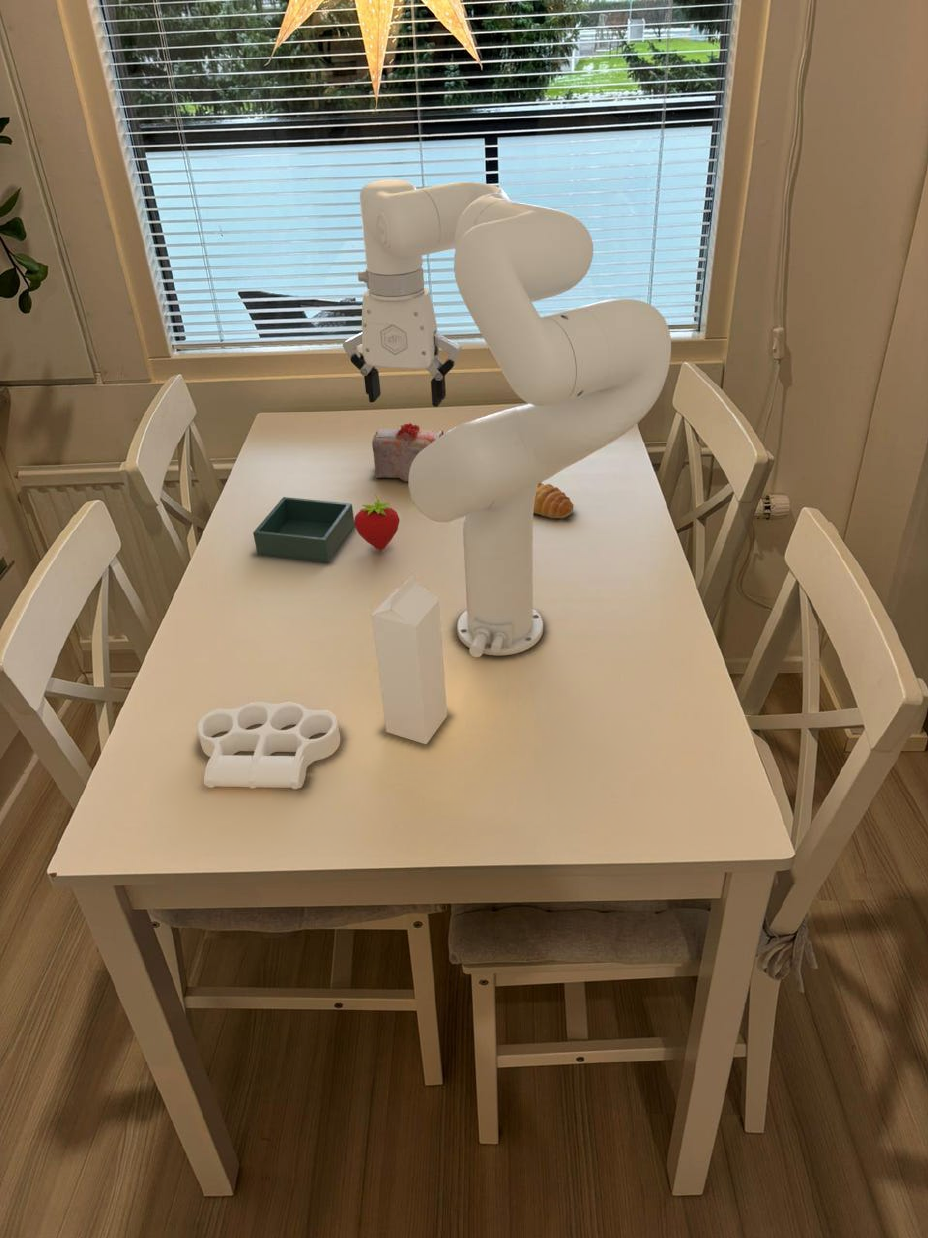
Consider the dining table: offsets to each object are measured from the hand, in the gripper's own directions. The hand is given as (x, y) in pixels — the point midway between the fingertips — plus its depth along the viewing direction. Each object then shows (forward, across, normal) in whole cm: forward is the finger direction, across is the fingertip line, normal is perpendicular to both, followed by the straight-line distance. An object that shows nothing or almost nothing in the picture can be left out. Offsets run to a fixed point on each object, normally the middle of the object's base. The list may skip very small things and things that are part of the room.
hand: (406, 400), depth 135 cm
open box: (+28, -22, +4) cm, 36 cm away
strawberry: (+28, -8, +3) cm, 30 cm away
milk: (+28, +11, -37) cm, 48 cm away
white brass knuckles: (+28, -6, -46) cm, 54 cm away
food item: (+28, -11, +30) cm, 43 cm away
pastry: (+28, +17, +22) cm, 40 cm away
